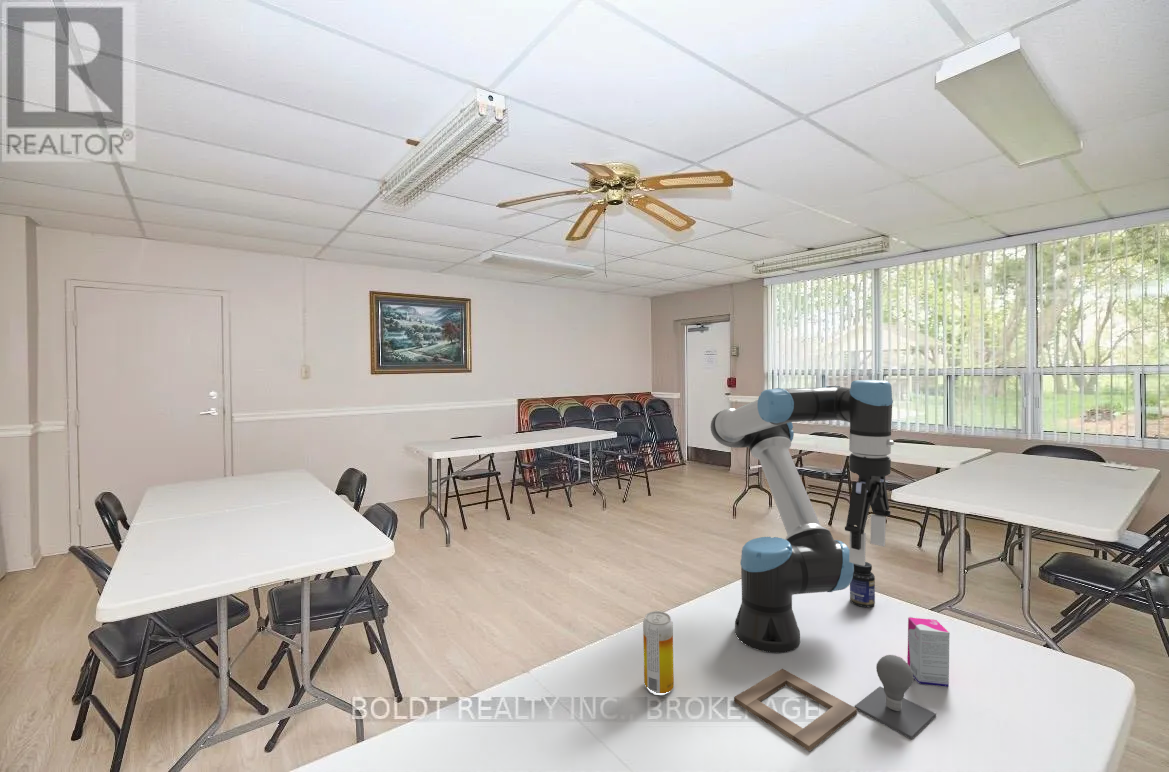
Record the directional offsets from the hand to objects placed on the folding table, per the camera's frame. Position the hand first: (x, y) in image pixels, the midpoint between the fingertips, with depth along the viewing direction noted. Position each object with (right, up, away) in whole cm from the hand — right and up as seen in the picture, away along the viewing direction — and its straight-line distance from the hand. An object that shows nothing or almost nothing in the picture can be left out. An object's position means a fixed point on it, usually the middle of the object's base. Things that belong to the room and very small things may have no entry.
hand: (867, 553), depth 106 cm
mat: (-1, -27, -10) cm, 29 cm away
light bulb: (-1, -26, -10) cm, 28 cm away
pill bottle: (+18, -25, +34) cm, 46 cm away
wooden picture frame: (-19, -27, -8) cm, 34 cm away
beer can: (-44, -28, -1) cm, 52 cm away
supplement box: (+13, -26, 0) cm, 29 cm away
